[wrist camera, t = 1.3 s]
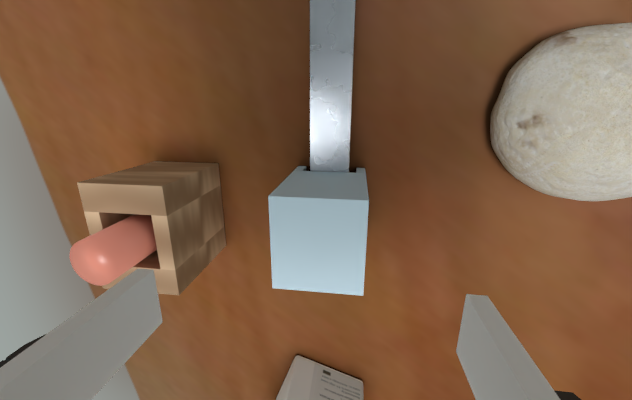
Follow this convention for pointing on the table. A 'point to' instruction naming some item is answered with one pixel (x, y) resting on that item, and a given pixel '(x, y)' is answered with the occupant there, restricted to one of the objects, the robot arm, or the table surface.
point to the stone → (570, 115)
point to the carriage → (319, 231)
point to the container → (318, 383)
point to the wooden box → (163, 216)
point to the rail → (331, 83)
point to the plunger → (113, 249)
